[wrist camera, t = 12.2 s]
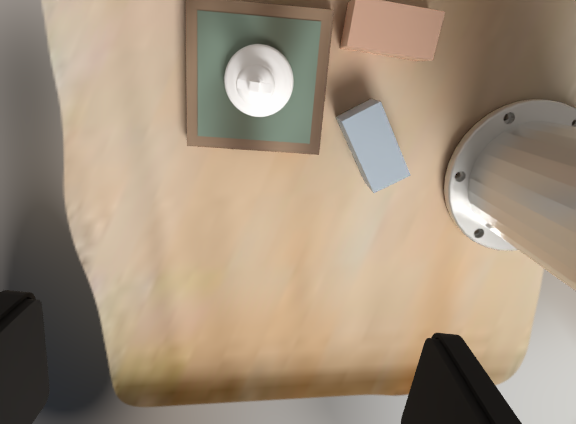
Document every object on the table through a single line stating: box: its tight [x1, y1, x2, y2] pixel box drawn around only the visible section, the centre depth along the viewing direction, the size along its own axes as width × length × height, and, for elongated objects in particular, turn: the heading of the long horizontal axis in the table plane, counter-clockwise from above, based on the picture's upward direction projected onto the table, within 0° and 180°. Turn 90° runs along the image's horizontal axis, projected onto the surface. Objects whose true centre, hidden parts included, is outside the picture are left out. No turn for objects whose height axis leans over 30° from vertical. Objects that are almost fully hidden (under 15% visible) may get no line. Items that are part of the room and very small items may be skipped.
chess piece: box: [224, 44, 294, 117], centre depth 23 cm, size 5×5×10 cm
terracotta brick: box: [340, 0, 445, 61], centre depth 27 cm, size 6×3×3 cm, turn 82°
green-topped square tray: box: [185, 0, 334, 155], centre depth 28 cm, size 10×10×1 cm
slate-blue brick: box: [336, 99, 410, 193], centre depth 30 cm, size 6×3×3 cm, turn 27°
